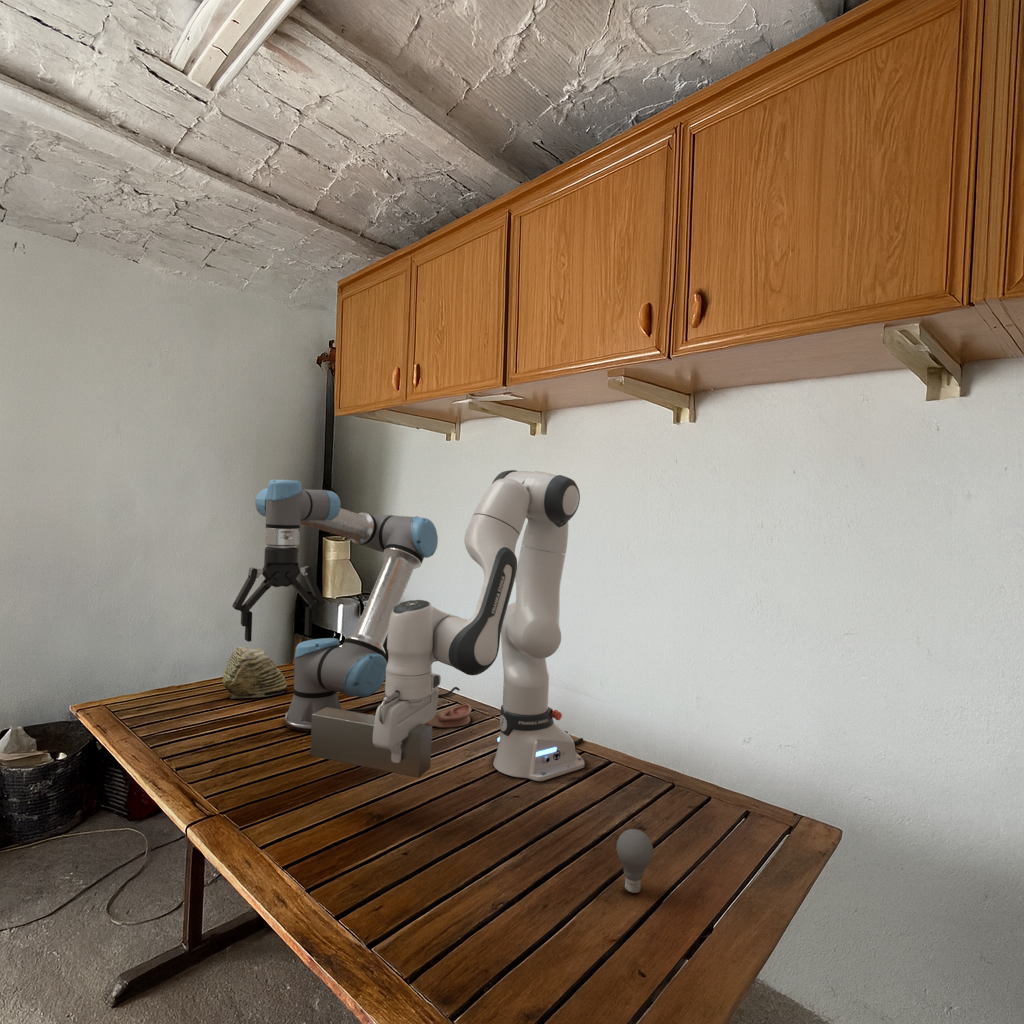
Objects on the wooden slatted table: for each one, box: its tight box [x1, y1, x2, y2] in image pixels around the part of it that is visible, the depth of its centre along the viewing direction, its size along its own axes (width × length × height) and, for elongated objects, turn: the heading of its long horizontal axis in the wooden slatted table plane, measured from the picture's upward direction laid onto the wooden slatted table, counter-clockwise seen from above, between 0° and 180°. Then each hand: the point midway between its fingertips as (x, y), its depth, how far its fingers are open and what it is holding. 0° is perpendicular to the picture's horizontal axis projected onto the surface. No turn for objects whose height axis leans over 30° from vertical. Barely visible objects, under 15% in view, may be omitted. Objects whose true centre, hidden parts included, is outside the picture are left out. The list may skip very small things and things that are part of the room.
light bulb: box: [615, 828, 654, 894], centre depth 106 cm, size 6×6×10 cm
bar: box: [309, 707, 433, 779], centre depth 126 cm, size 24×5×8 cm, turn 72°
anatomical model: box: [426, 703, 472, 728], centre depth 182 cm, size 13×4×12 cm
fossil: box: [222, 646, 288, 699], centre depth 198 cm, size 9×18×15 cm, turn 132°
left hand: (278, 637), depth 147 cm, fingers open, 13 cm apart
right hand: (405, 755), depth 124 cm, fingers closed on bar, 5 cm apart
